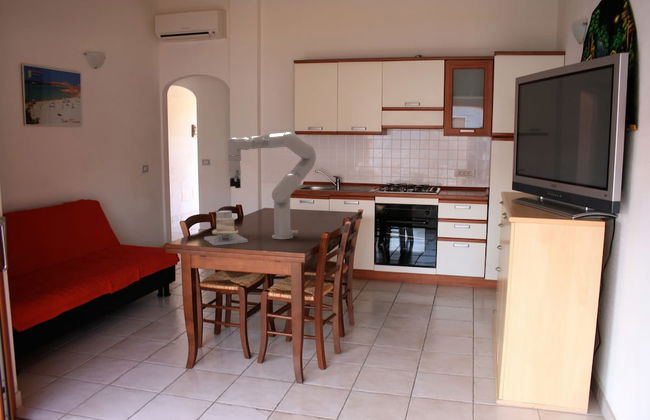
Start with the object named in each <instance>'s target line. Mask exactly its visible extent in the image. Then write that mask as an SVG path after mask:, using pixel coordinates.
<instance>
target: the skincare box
mask: <svg viewBox="0 0 650 420" xmlns="http://www.w3.org/2000/svg"><path fill="white" fill-rule="evenodd" d="M215 213H216V219H219V218H233V215H232V213H233V211H232V210H219V211H216V212H215Z"/></svg>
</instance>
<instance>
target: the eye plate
mask: <svg viewBox="0 0 650 420" xmlns="http://www.w3.org/2000/svg"><path fill="white" fill-rule="evenodd" d="M203 239H204V241H206V242H208V243H209V244H211V245H212V246H222V245H232V244H242V243H248V241H249V239H247V238H245V237H244V236H242V235H239V234H238V233H237V234H232V235H229V238H222V235H212V236H211V235H209V236H204V238H203Z"/></svg>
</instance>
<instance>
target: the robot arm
mask: <svg viewBox="0 0 650 420" xmlns="http://www.w3.org/2000/svg"><path fill="white" fill-rule="evenodd" d="M286 147H287V148H288V149H289V150H290V151H292V152H293V153H294V154H295V155H297V157H299V158H300V160H299V161H298V162H297V164H296V165H294V167H293V169H292V170H290V172H288V173H287V174H285V175H284V177H283V178H282V179H281V180H280V182H279V183H278V184H277V185H276V186H275V187H274V188H273V190H272V192H271V198H272V200H273V201H274V202H273V203H274V204H273V221H274V222H273V223H274V227H273V228H274V229H273V230H274V234H272V235H271V238H272V239H273V240H274V239H275V240H290V239H293V238H294V234H298V233H299V231H298V230H297V229H296V230H295V229H293V230H292V229H291V196H292V194H293V193H294V192H295V191H296V189H298V187H299V186H300V185H301V184H302V181H303V180H304V179H305V178H306V177H307V176H308V174H309V173H310V172H311V171H312V169H313V168H314V165H315V163H316V160H317V159H316V158H317V157H316V155H317V154H316V151H315V149H314V147H313V145H312V144H310V143H306V142H305V141H304V140H303V139H301V138H300V137H299V136H297V134H296V132H293V131H282V132H275V133H267V134H263V135H254V136H243V137H235V136H234V137H233V136H232V137H228V138H227V161H228V165H227V166H228V169H227V170H228V171H227V173H228V174H227V177H229V187H230V188H231V187H234V188H235V189H241V188H242V186H241V178H242V176H241V175H242V172H241V161H242V151H241V150H244V151H249V150H256V149H277V148H286Z"/></svg>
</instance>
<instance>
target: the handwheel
mask: <svg viewBox="0 0 650 420" xmlns="http://www.w3.org/2000/svg"><path fill="white" fill-rule="evenodd" d="M215 222H216V224H215V225H216V226H215V227H216V228H215V229H213V230H212V231H211V232H212V235H214V236H219V235H222V238H229V235H232V234H238V233H239V229H238V228H239V227H238V226H235V217H232V218H219V219H217V218H216V219H215Z"/></svg>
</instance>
